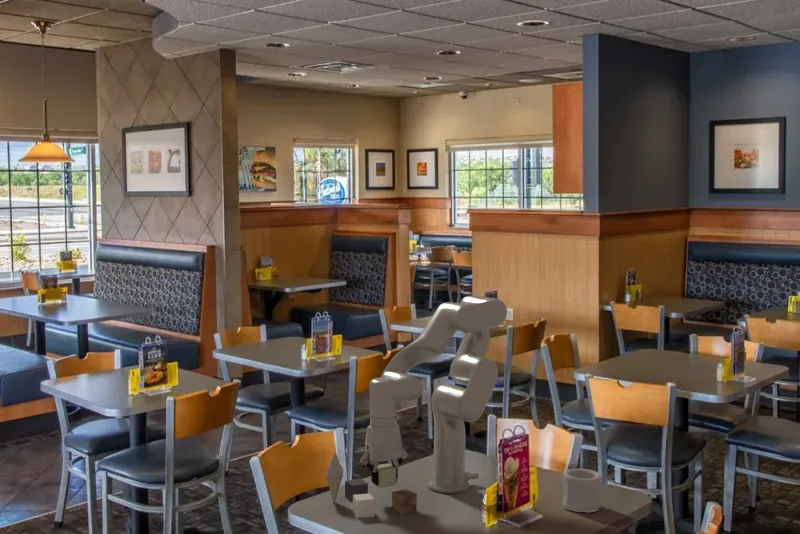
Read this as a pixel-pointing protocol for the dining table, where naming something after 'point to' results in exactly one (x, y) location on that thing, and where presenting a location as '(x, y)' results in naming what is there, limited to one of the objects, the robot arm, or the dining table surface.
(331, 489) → the ice cream cone
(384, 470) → the sage block
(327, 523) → the dining table surface
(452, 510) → the dining table surface
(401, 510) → the walnut block
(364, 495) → the offwhite block
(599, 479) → the mug
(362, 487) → the black block
